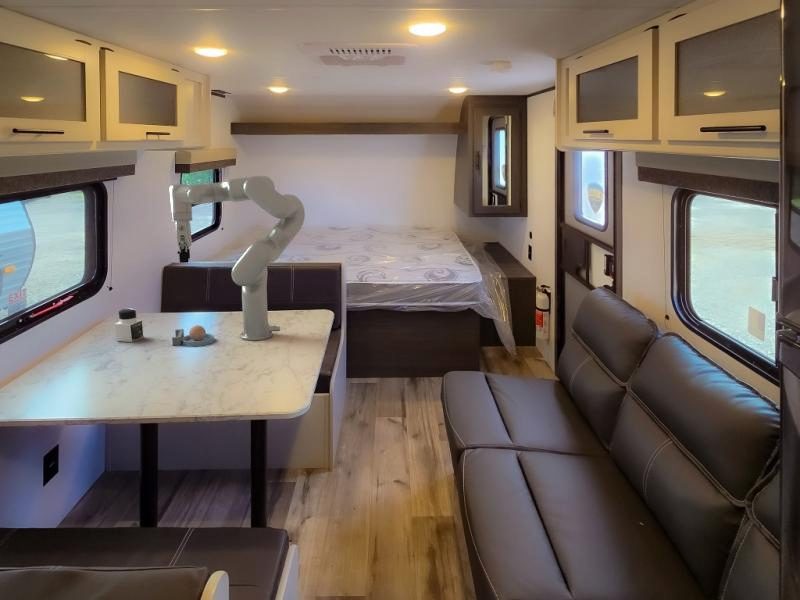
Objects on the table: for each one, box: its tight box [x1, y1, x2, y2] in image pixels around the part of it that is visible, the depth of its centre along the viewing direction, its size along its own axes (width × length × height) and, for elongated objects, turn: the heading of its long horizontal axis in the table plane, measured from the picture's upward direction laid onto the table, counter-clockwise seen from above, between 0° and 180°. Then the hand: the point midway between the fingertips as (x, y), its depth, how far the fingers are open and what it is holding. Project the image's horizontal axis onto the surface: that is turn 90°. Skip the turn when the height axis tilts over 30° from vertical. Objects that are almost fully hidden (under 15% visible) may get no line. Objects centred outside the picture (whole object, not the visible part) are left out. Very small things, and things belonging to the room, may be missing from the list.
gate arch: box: [171, 328, 185, 346], centre depth 227 cm, size 3×12×3 cm, turn 14°
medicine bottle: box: [114, 307, 144, 343], centre depth 228 cm, size 7×7×12 cm
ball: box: [188, 325, 207, 341], centre depth 225 cm, size 6×6×6 cm
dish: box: [181, 333, 215, 347], centre depth 226 cm, size 12×12×2 cm
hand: (185, 260), depth 231 cm, fingers open, 9 cm apart
